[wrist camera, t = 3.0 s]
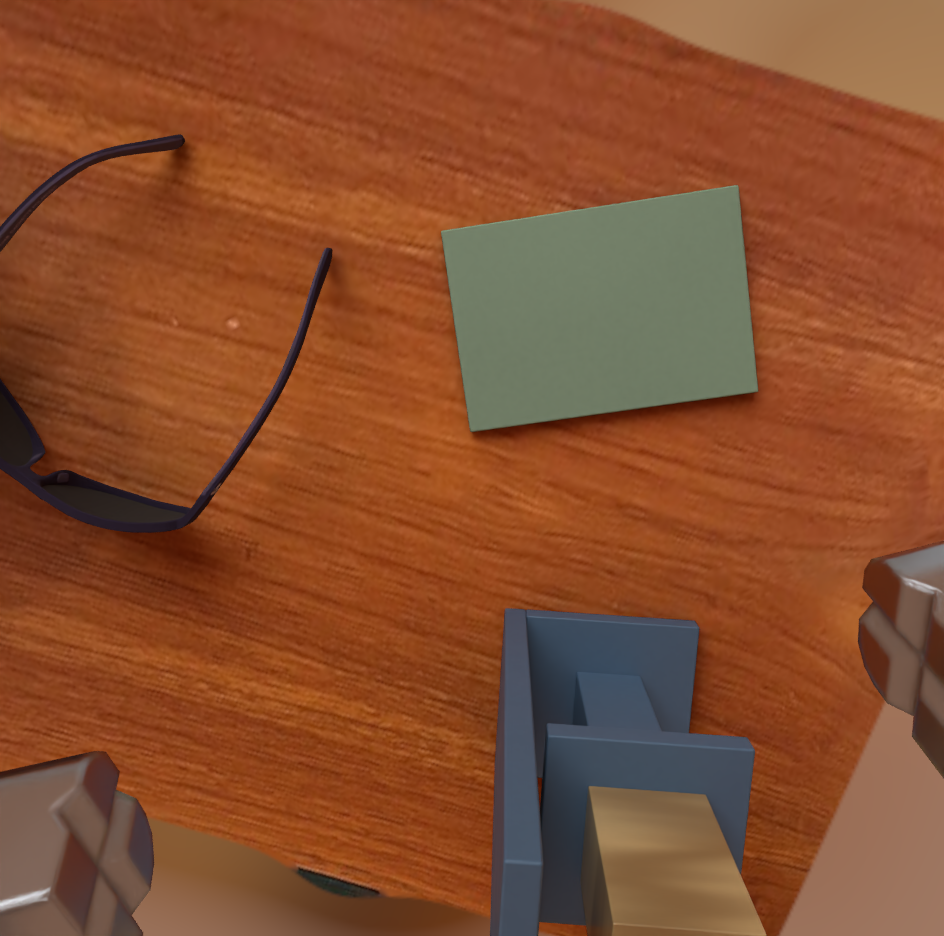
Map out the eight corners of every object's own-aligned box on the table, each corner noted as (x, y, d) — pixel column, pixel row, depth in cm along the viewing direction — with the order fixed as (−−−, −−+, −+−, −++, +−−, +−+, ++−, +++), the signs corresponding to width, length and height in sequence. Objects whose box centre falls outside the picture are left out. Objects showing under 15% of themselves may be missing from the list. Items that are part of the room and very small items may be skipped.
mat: (735, 187, 38) (738, 184, 37) (754, 391, 39) (758, 392, 38) (441, 232, 39) (440, 230, 38) (470, 431, 40) (470, 432, 39)
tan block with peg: (706, 793, 29) (777, 957, 22) (695, 890, 30) (761, 1083, 22) (546, 782, 29) (561, 940, 22) (539, 878, 30) (551, 1066, 22)
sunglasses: (-50, 383, 40) (-128, 389, 36) (128, 95, 38) (72, 59, 33) (189, 552, 41) (146, 581, 36) (378, 279, 39) (359, 271, 34)
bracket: (695, 620, 41) (872, 888, 21) (679, 778, 42) (833, 1171, 22) (505, 607, 41) (503, 860, 21) (494, 764, 42) (484, 1141, 23)
